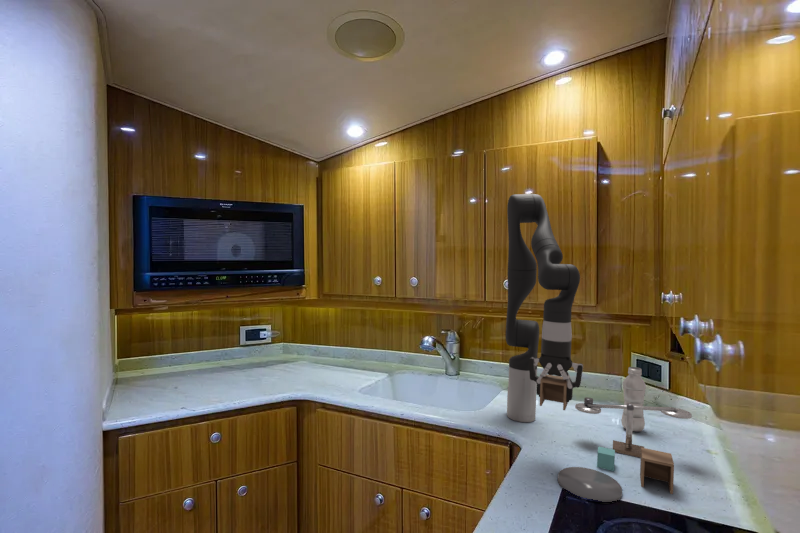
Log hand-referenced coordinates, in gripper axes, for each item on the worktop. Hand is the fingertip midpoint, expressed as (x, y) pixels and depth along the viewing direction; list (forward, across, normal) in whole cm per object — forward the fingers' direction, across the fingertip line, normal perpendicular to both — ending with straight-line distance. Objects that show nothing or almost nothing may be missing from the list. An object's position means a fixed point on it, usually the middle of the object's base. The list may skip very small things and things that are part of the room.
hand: (554, 398), depth 113 cm
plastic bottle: (+16, +20, +34) cm, 43 cm away
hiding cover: (+2, 0, 0) cm, 2 cm away
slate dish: (+16, +10, -10) cm, 22 cm away
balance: (+16, +18, +16) cm, 29 cm away
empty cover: (+16, +24, -1) cm, 29 cm away
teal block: (+16, +13, +3) cm, 21 cm away
